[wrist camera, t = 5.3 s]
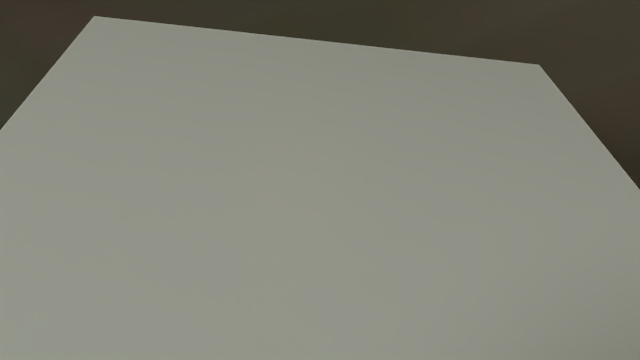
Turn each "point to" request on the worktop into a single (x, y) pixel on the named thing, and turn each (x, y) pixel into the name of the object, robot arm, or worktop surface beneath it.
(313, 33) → the worktop surface
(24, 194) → the pale grey cube
